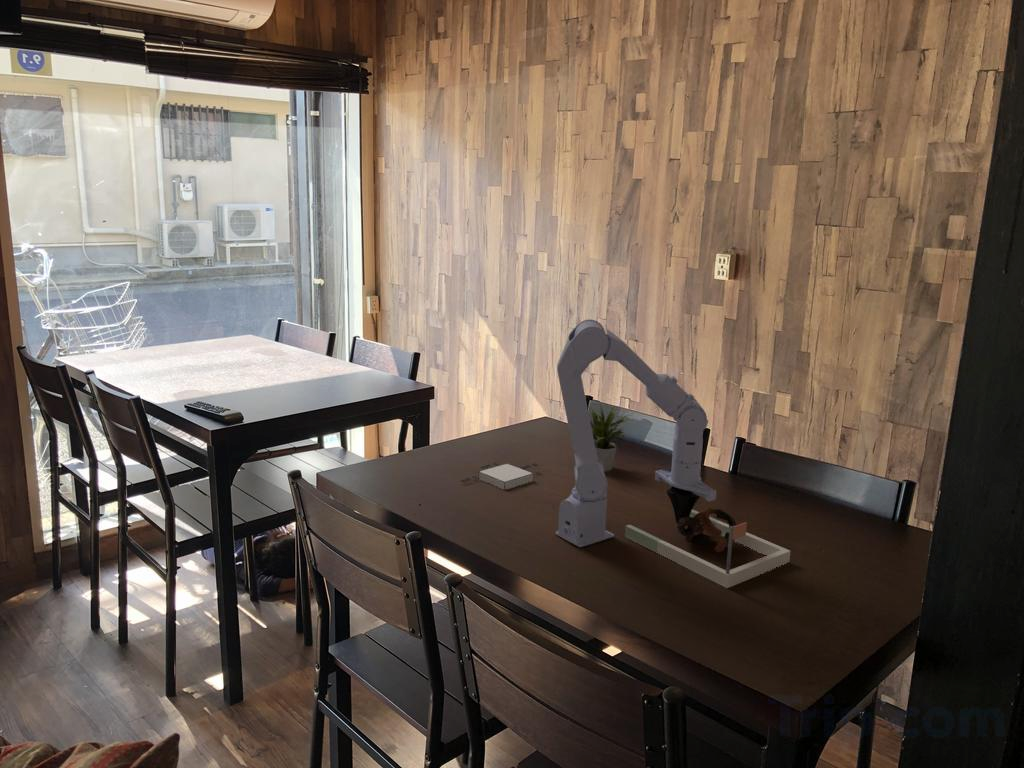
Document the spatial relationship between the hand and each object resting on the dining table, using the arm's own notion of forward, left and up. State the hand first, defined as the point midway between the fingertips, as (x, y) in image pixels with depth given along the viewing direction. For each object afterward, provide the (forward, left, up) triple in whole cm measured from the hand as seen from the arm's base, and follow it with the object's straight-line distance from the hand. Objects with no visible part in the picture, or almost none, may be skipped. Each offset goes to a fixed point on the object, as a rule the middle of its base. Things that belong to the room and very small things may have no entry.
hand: (681, 523), depth 164 cm
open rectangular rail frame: (0, -6, -3) cm, 7 cm away
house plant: (+15, +40, -4) cm, 43 cm away
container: (-10, +48, -4) cm, 49 cm away
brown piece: (+2, -4, -4) cm, 6 cm away
